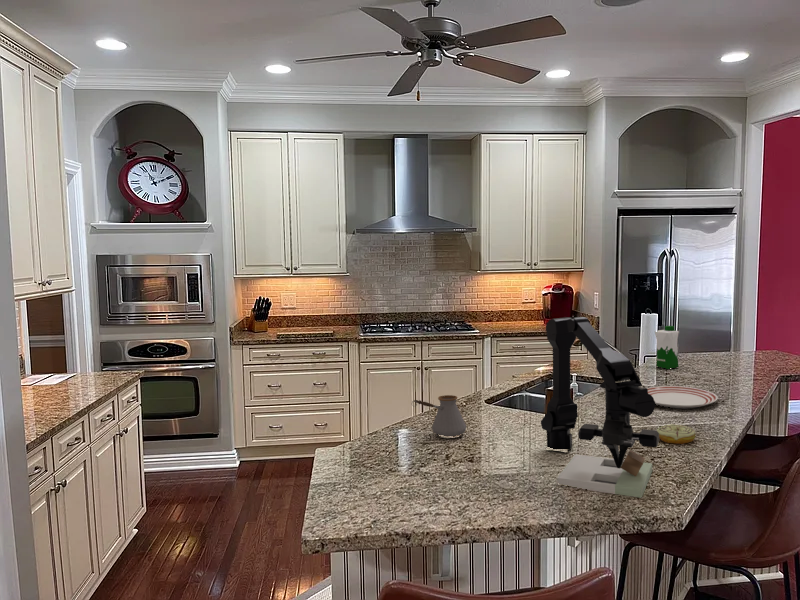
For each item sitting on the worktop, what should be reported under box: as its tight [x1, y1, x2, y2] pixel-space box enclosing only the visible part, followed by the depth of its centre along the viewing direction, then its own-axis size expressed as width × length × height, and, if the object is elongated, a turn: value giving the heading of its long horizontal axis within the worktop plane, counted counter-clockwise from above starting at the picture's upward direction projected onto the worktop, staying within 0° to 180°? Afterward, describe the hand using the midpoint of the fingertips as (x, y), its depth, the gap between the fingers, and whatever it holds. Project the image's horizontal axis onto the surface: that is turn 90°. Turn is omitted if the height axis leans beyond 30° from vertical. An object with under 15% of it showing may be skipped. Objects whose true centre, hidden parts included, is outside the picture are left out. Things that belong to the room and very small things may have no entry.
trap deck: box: [556, 453, 653, 499], centre depth 153 cm, size 20×19×2 cm
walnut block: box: [621, 450, 646, 477], centre depth 150 cm, size 4×4×4 cm
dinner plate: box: [646, 385, 719, 409], centre depth 223 cm, size 27×27×3 cm
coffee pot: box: [411, 394, 467, 436], centre depth 192 cm, size 21×12×15 cm, turn 132°
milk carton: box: [654, 325, 680, 370], centre depth 284 cm, size 9×9×20 cm
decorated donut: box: [656, 423, 697, 445], centre depth 180 cm, size 10×11×4 cm
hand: (619, 467), depth 151 cm, fingers closed
